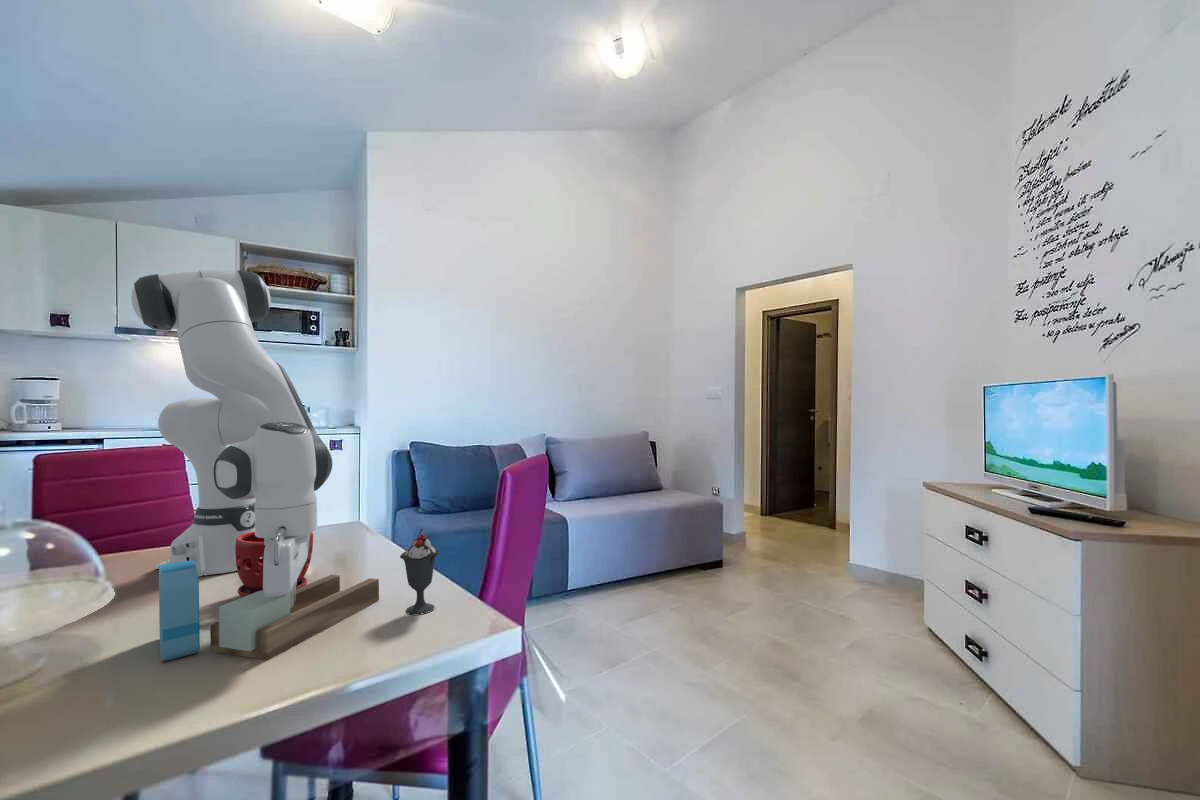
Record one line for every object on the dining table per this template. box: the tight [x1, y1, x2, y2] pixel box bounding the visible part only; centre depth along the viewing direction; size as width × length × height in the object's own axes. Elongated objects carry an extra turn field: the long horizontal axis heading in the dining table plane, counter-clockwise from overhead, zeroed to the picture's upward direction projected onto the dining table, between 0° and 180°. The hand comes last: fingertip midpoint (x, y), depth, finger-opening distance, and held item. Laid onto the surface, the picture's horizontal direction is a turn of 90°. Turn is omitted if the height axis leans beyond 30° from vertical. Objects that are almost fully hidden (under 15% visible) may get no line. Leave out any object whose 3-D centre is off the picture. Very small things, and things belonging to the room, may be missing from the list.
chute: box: [209, 574, 380, 661], centre depth 91 cm, size 11×24×4 cm, turn 164°
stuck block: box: [218, 591, 290, 651], centre depth 82 cm, size 6×7×6 cm
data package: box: [158, 560, 201, 663], centre depth 83 cm, size 12×4×12 cm, turn 40°
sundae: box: [399, 527, 440, 615], centre depth 96 cm, size 7×7×15 cm
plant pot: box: [235, 531, 314, 598], centre depth 105 cm, size 13×13×12 cm
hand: (288, 606), depth 87 cm, fingers closed
